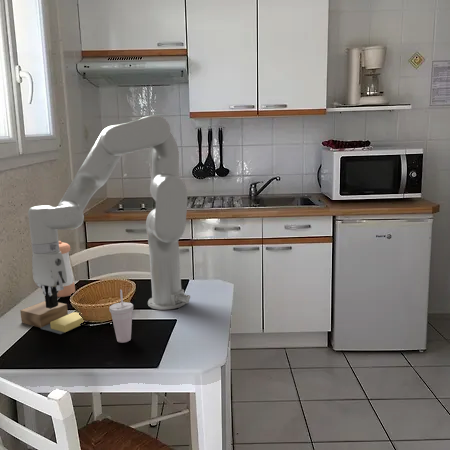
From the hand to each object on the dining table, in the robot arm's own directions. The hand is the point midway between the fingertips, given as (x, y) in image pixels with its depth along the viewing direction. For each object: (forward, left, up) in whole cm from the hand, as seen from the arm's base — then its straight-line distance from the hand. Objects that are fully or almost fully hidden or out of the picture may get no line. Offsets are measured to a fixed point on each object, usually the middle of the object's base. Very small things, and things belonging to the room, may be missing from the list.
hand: (52, 306), depth 149 cm
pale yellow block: (-7, 0, -3) cm, 8 cm away
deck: (+4, 0, -5) cm, 6 cm away
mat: (-5, 0, -5) cm, 7 cm away
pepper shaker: (+19, -20, -5) cm, 28 cm away
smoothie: (-28, 0, -5) cm, 29 cm away
